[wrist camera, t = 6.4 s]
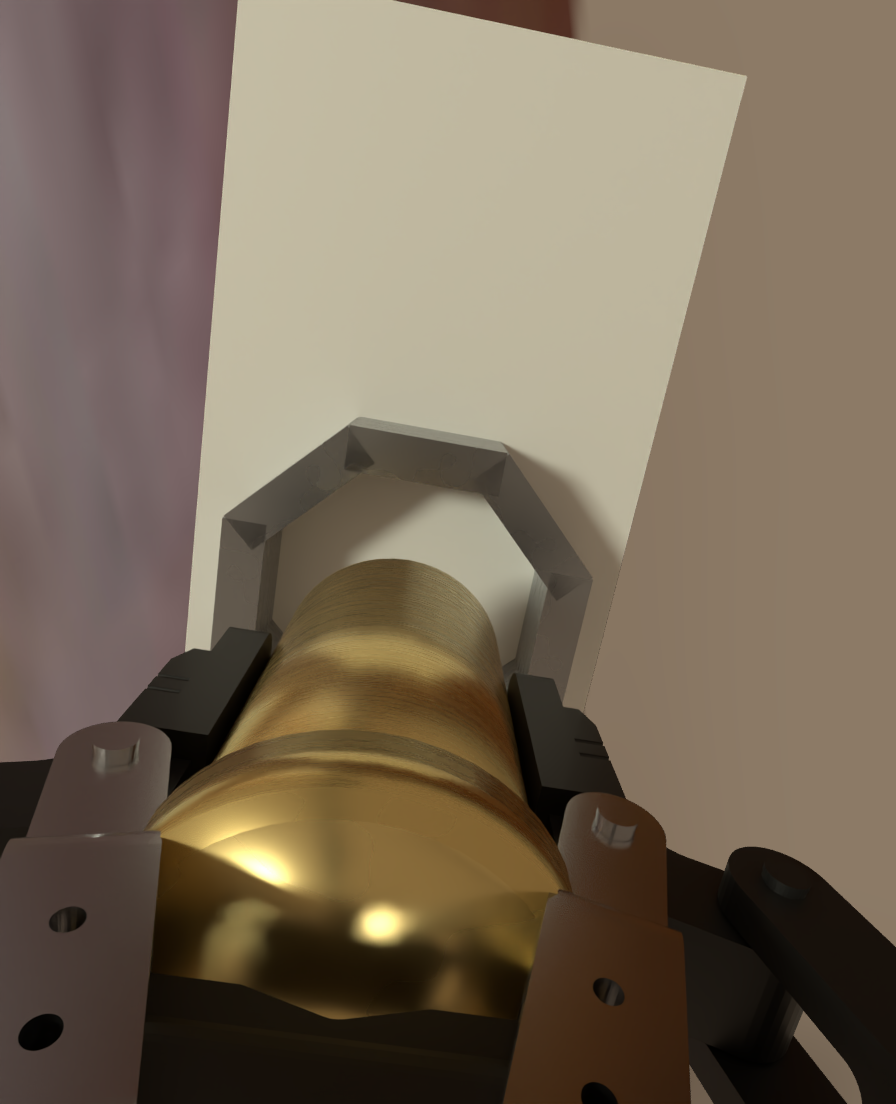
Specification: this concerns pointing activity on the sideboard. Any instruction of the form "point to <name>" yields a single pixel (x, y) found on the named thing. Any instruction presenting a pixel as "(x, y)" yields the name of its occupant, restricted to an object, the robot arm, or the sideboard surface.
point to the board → (450, 284)
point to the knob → (364, 815)
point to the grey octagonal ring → (422, 460)
